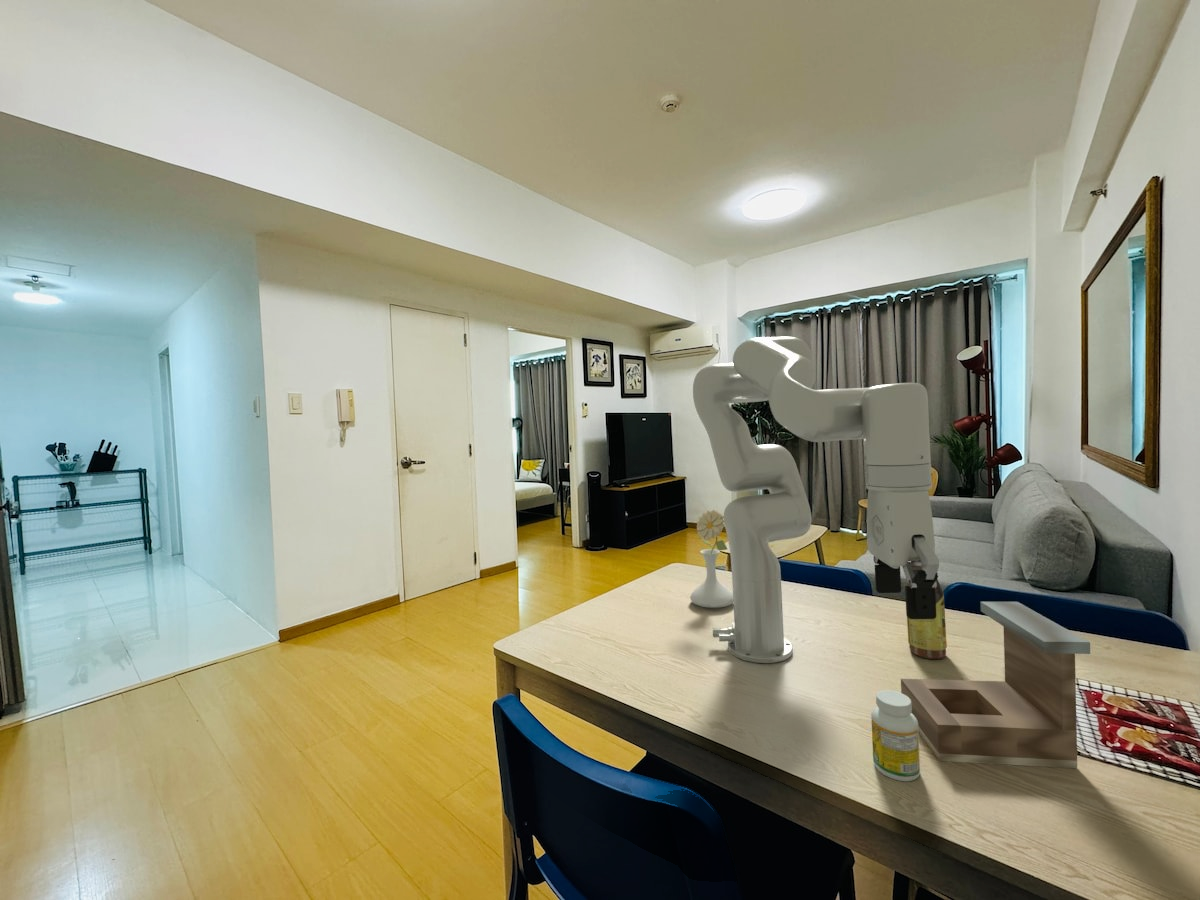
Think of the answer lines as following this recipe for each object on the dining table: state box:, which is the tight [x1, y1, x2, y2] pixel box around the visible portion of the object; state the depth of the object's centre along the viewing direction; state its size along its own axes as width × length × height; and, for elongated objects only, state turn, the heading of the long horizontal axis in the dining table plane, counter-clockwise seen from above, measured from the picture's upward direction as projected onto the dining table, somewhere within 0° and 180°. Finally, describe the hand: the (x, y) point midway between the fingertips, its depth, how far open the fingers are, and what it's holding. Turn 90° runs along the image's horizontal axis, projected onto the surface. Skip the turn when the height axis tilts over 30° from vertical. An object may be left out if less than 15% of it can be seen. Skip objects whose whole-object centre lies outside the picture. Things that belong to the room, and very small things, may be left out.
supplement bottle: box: [870, 689, 921, 782], centre depth 65 cm, size 5×5×10 cm
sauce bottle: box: [905, 561, 948, 660], centre depth 95 cm, size 7×6×20 cm
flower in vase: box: [689, 509, 734, 609], centre depth 127 cm, size 13×11×25 cm
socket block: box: [900, 601, 1091, 769], centre depth 70 cm, size 17×14×17 cm
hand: (903, 604), depth 66 cm, fingers open, 9 cm apart
